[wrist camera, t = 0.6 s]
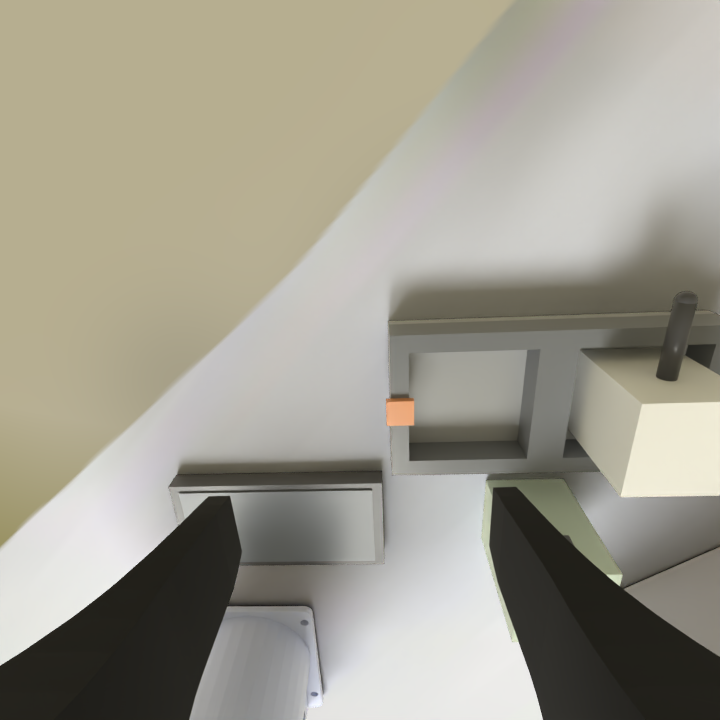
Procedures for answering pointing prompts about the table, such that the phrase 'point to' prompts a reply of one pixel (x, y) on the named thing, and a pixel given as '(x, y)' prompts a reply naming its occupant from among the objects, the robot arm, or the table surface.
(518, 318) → the grey double frame
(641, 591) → the game console
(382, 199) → the table surface
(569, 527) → the block
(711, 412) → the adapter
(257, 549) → the phone
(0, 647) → the table surface
